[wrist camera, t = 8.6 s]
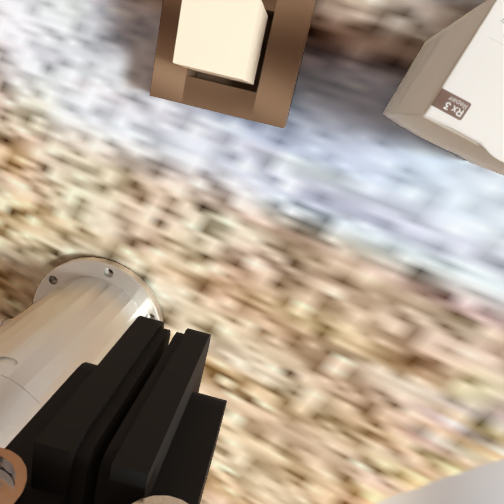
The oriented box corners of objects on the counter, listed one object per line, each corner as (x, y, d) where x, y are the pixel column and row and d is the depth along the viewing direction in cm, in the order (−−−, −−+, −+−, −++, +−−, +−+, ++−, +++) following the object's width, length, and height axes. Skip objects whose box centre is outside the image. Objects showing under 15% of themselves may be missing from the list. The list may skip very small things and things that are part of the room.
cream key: (253, 84, 30) (243, 79, 26) (193, 70, 30) (172, 62, 26) (268, 16, 29) (260, -3, 24) (205, 1, 29) (185, -20, 24)
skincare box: (519, 93, 31) (693, 78, 17) (468, 167, 33) (586, 208, 19) (419, 37, 31) (512, -26, 17) (373, 115, 33) (422, 118, 19)
